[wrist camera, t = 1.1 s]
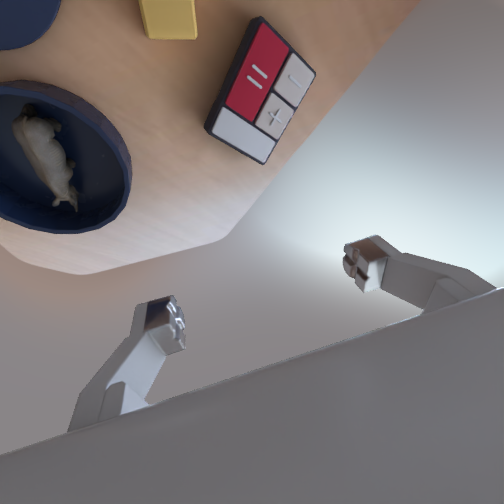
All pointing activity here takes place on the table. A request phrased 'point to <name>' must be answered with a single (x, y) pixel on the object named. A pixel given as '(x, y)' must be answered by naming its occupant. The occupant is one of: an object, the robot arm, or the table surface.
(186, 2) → the rubber stamp
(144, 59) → the table surface
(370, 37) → the table surface
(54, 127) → the rhino figurine
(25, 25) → the pan lid
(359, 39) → the table surface
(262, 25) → the calculator
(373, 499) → the robot arm
